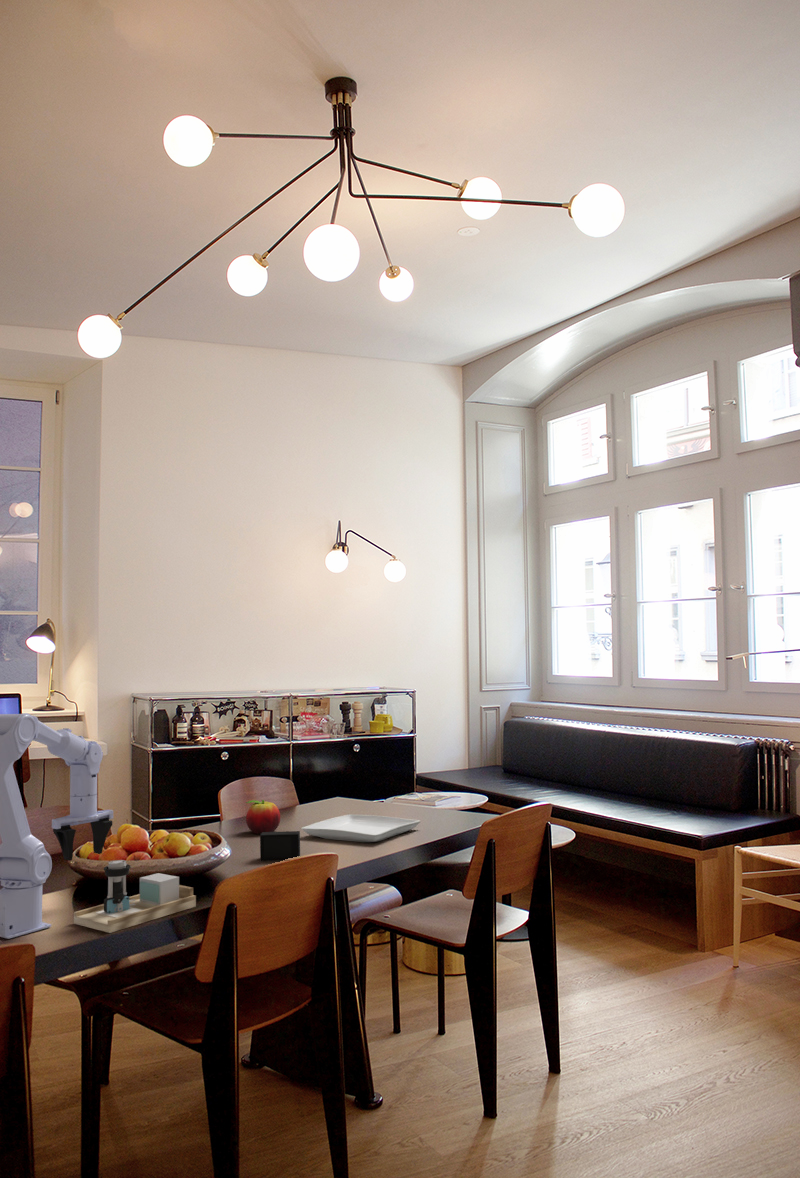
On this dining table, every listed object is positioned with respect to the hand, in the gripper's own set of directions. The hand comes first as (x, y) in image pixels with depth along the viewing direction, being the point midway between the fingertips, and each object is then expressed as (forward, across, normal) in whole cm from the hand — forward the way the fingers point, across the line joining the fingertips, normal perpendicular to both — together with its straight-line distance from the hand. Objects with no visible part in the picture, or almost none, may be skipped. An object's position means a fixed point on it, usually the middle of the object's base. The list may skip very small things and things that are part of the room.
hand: (83, 856), depth 197 cm
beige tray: (+10, +1, -18) cm, 20 cm away
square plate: (+11, +94, -5) cm, 95 cm away
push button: (+9, -2, -16) cm, 19 cm away
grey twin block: (+9, +7, -18) cm, 21 cm away
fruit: (+11, +81, +24) cm, 85 cm away
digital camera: (+11, +56, -7) cm, 58 cm away
